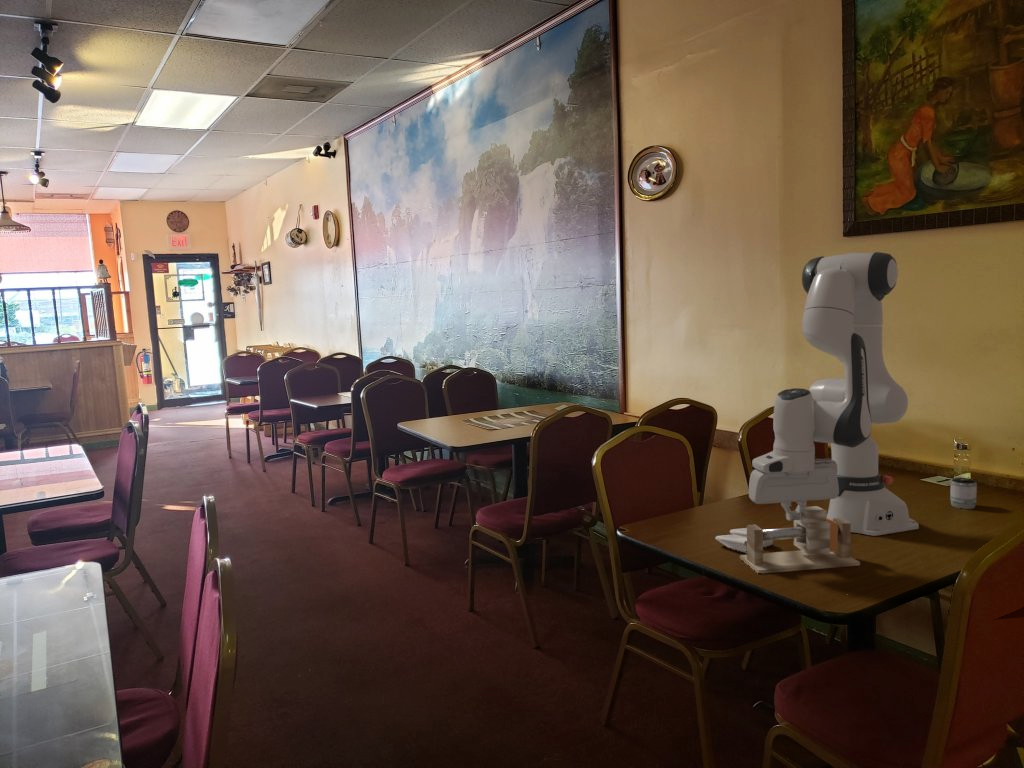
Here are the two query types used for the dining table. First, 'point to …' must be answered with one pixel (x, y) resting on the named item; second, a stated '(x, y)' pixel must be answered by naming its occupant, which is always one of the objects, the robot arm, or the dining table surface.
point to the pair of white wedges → (738, 540)
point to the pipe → (786, 533)
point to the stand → (797, 553)
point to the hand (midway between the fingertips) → (793, 519)
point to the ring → (833, 535)
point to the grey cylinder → (963, 493)
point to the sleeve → (814, 531)
